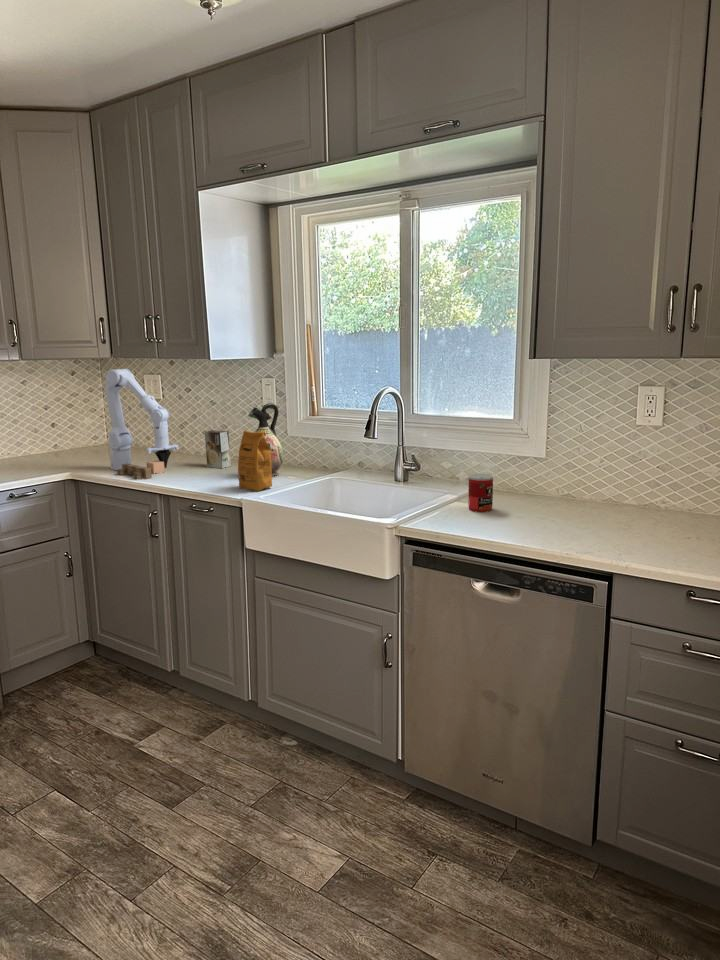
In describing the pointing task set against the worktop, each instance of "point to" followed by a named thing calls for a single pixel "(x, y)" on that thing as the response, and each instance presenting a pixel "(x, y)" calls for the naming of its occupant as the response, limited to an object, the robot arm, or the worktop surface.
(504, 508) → the worktop surface
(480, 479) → the canned food
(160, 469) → the terracotta block
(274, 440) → the ceramic jug
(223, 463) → the coffee box
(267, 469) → the coffee package
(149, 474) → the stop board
